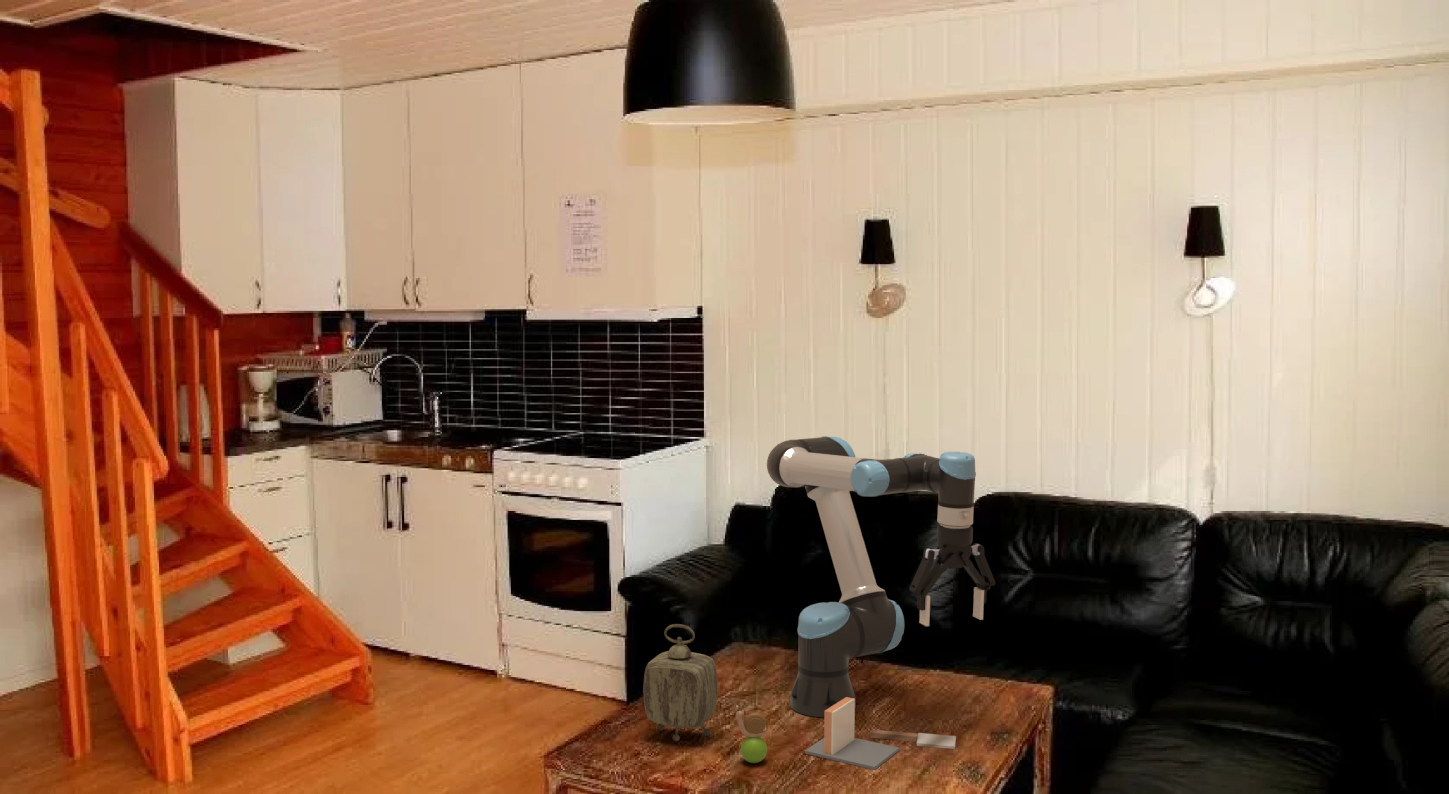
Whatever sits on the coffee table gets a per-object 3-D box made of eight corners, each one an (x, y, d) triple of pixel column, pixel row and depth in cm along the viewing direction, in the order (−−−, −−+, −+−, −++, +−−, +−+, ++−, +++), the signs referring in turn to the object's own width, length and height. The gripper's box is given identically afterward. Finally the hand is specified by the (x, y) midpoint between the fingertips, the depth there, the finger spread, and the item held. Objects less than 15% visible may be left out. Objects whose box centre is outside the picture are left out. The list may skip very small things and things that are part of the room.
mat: (804, 753, 251) (804, 750, 251) (831, 735, 261) (831, 732, 261) (874, 770, 243) (874, 767, 243) (899, 750, 253) (899, 747, 253)
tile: (824, 753, 250) (824, 711, 249) (845, 737, 258) (846, 697, 258) (832, 755, 249) (833, 712, 248) (854, 739, 257) (854, 698, 256)
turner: (869, 741, 258) (869, 736, 258) (872, 731, 264) (872, 726, 264) (955, 749, 254) (955, 743, 254) (955, 738, 260) (956, 733, 260)
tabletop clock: (717, 734, 262) (717, 622, 259) (703, 750, 253) (703, 633, 251) (656, 726, 267) (655, 616, 264) (640, 741, 258) (639, 627, 256)
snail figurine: (734, 757, 249) (734, 701, 248) (765, 756, 250) (765, 700, 249) (737, 768, 244) (737, 710, 243) (768, 767, 244) (768, 709, 243)
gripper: (914, 533, 249) (910, 632, 252) (1014, 524, 259) (1009, 620, 261) (895, 525, 256) (892, 622, 259) (993, 517, 266) (989, 610, 268)
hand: (951, 621), depth 260 cm, fingers open, 13 cm apart
